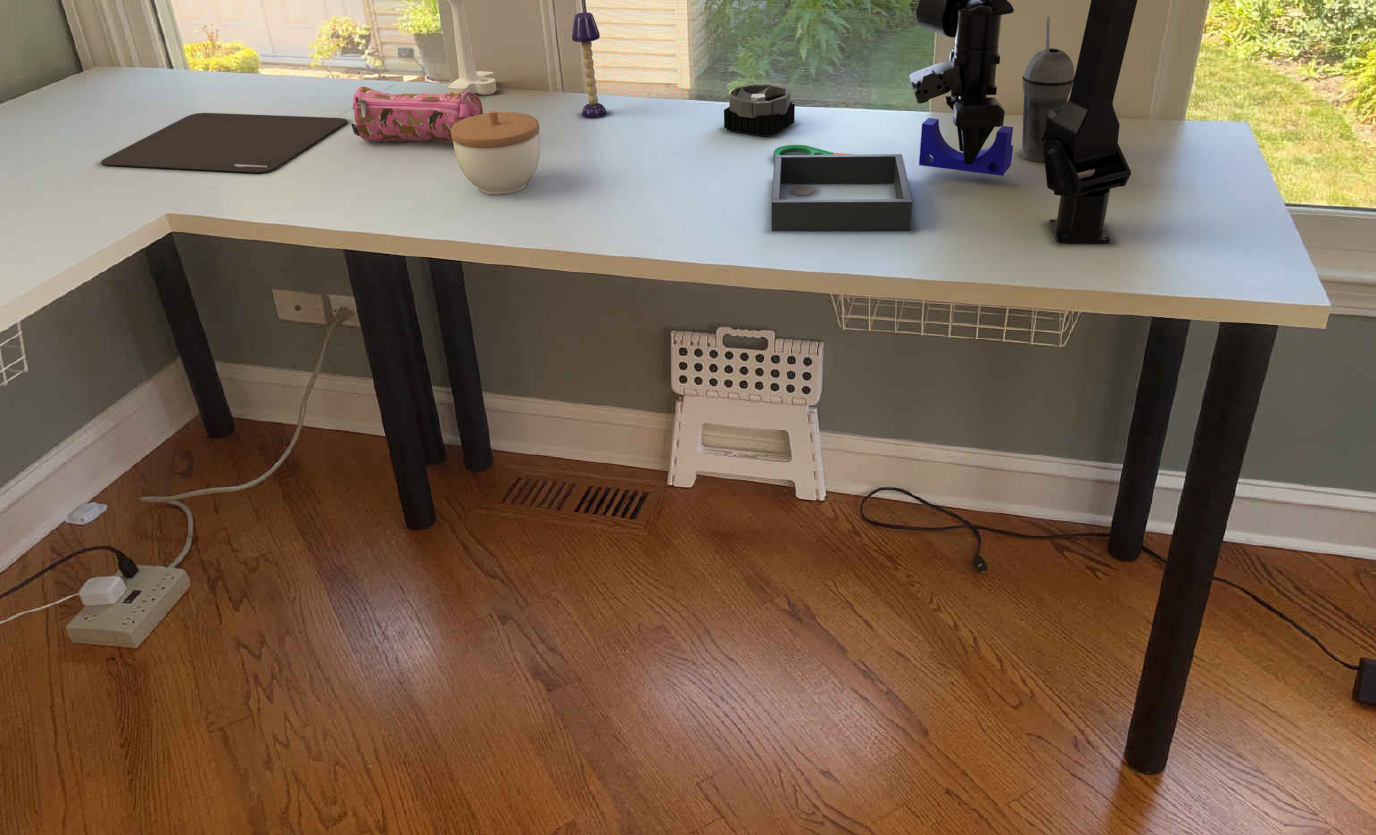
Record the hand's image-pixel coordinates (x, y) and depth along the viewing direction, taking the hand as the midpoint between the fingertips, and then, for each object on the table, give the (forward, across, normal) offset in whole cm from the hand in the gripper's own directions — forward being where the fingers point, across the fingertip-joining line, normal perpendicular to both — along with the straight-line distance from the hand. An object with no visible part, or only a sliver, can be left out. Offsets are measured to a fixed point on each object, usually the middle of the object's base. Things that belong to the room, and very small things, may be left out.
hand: (965, 157), depth 156 cm
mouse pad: (+3, -19, -119) cm, 121 cm away
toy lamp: (+3, -32, -59) cm, 67 cm away
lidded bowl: (+3, +2, -67) cm, 67 cm away
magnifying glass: (+3, -7, -20) cm, 22 cm away
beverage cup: (+3, -9, +12) cm, 15 cm away
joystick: (+3, -46, -83) cm, 95 cm away
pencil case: (+3, -18, -85) cm, 87 cm away
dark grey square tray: (+3, +10, -18) cm, 21 cm away
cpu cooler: (+3, -24, -30) cm, 39 cm away
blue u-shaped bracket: (+2, 0, 0) cm, 2 cm away
